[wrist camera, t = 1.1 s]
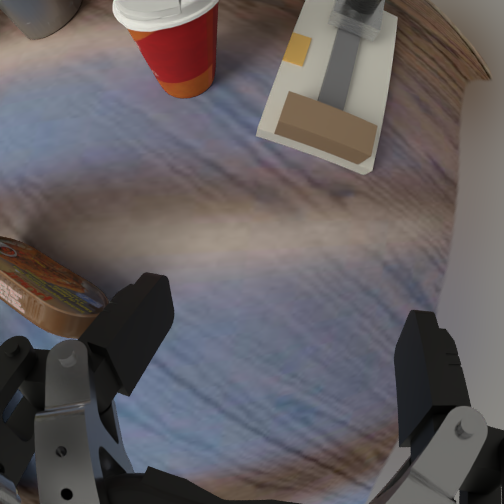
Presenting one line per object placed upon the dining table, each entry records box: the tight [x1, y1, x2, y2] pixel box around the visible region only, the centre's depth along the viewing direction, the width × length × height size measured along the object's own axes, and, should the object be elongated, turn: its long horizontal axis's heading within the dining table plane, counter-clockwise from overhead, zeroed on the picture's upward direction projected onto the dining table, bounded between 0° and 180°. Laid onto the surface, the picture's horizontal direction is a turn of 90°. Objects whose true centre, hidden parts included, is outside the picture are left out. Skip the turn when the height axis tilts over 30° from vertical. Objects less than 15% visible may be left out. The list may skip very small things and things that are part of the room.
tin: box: [0, 236, 109, 339], centre depth 23 cm, size 15×3×8 cm, turn 64°
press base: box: [256, 0, 398, 175], centre depth 26 cm, size 22×11×5 cm, turn 162°
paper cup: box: [113, 0, 219, 98], centre depth 21 cm, size 8×8×14 cm
